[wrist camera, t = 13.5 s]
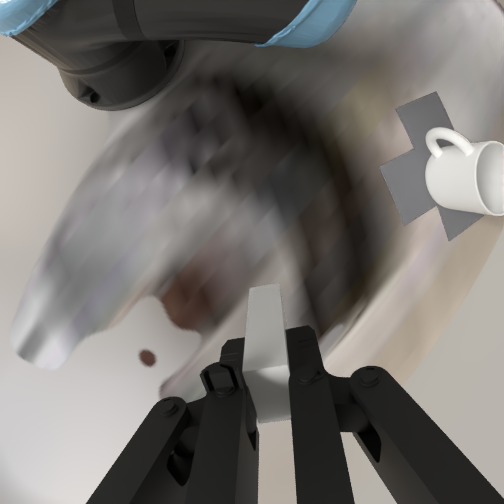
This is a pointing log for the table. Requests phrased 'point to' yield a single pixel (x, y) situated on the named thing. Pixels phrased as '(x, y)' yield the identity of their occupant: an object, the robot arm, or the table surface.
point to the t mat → (422, 167)
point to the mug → (465, 173)
